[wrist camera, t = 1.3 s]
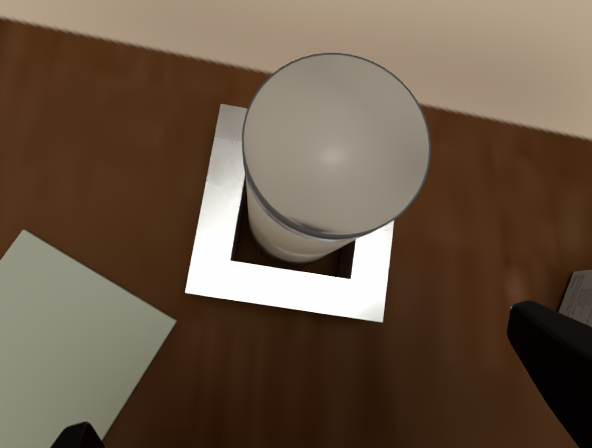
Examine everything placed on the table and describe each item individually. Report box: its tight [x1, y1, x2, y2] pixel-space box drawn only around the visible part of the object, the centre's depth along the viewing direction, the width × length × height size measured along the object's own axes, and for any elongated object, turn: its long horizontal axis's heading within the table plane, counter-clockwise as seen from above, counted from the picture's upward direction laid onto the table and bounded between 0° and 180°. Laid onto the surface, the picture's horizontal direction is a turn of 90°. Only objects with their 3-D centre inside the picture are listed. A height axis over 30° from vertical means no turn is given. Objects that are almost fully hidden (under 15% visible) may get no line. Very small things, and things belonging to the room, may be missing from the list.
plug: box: [242, 53, 431, 267], centre depth 18 cm, size 5×5×13 cm
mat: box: [0, 230, 177, 448], centre depth 22 cm, size 9×9×1 cm
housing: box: [185, 104, 394, 322], centre depth 22 cm, size 9×9×4 cm
